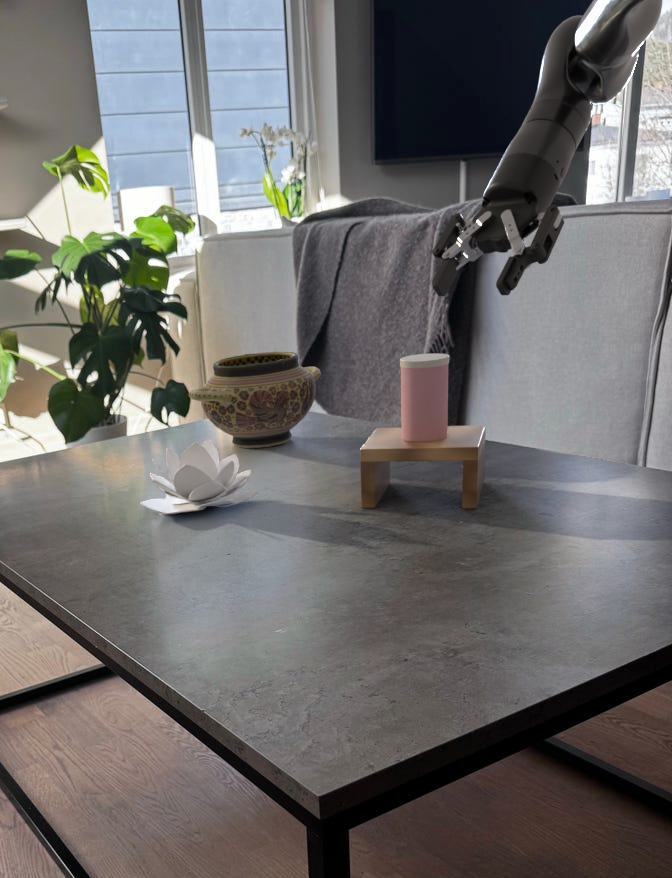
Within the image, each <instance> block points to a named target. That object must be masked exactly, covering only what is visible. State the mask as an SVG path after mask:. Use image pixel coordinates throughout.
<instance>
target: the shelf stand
mask: <svg viewBox="0 0 672 878" xmlns="http://www.w3.org/2000/svg"><path fill="white" fill-rule="evenodd" d="M486 428H487V426H486V424H478V425H477V424H476V425H475V424H474V425H472V424H471V425H448V429H447V437H446V438H443V439H440V440H436V441H428V442H411V441H406V440H403V439H402V430H401V427H400V426H399V427H377V428H375V429H374V431H373V432H372V433H371V435H370V436H369V437H368V439H367V440H366V441H365V443H364V444H363V445H362V446H361V447H360V448H359V461H360V493H361V495H360V499H361V501H360V502H361V503H360V504H361V509H376V508H377V505H378V504H379V502H380V500H381V499H382V497H383V496H384V494H385V492H386V490H387V489H388V487H389V486H390V484H391V462H451V461H453V462H455V461H458V462H460V461H462V495H461V497H462V498H461V499H462V500H461V501H462V503H461V506H462V507H461V508H462V509H465V510H466V509H468V510H469V509H470V510H472V509H478V505H479V502H480V499H481V496H482V495H481V494H482V491H483V487H484V485H485V468H486V467H485V465H486V464H485V462H486V461H485V460H486V433H487V432H486V430H487V429H486Z"/></svg>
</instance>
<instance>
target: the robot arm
mask: <svg viewBox="0 0 672 878" xmlns="http://www.w3.org/2000/svg"><path fill="white" fill-rule="evenodd" d="M662 9H663V0H592V2H591V3H590V5H589V6H588V8H587V9H586V11H585V12H584V14H583V15H573V16H570V17H568V18H566V19H565V20H563V21H562V22H561V23H560V24H559V25H558V26H557V27H556V28H555V29H554V30H553V32H552V33H551V35H550V37H549V39H548V40H547V44H546V46H545V49H544V52H543V56H542V59H541V65H540V70H539V77H538V83H537V89H536V92H535V96H534V99H533V102H532V104H531V106H530V108H529V111H528V112H527V115H525V118H524V120H523V122H522V124H521V126H520V127H519V130H518V131H517V133H516V134H515V136H513V139H512V140H510V143H509V145H508V146H507V148H506V150H505V152H504V154H503V155H502V157H501V159H500V161H499V163H498V165H497V167H496V169H495V171H494V172H493V174H492V176H491V179H490V180H489V182H488V184H487V186H486V188H485V189H484V192H483V195H482V202H481V207H480V209H479V210H478V211H477V212H476V214H474V215H473V217H467V218H466V217H465V218H464V217H463V215H462V214H461V212H457V213H454V215H452V216H451V218H450V220H449V222H448V224H447V225H446V226H445V228H444V230H443V232H442V233H441V235H440V237H439V239H438V241H437V242H436V244H435V246H434V247H433V249H432V251H431V254H432V256H433V258H434V259H435V260H436V262H437V264H438V265H439V267H438V268H437V271H436V273H435V274H434V277H433V278H432V280H431V285H432V288H433V290H434V292H435V294H437V296H438V297H445V296H447V294H448V292H449V290H450V288H451V287H452V285H453V282H454V280H455V279H456V277H457V274H458V273H459V270H460V268H462V267H464V266H465V265H466V264H467V263H469V262H475V261H476V260H478V259H479V258H480V257H481V256H482V255H485V254H487V255H488V254H492V253H496V252H497V253H501V254H502V253H503V254H504V253H505V254H506V253H508V252H509V251H510V250H512V254H513V255H512V256H508V259H507V260H506V262H505V264H504V266H503V268H502V270H501V272H500V274H499V276H498V278H497V280H496V283H495V287H496V289H497V290H498V293H499V294H500V295H501V296H509V295H510V294H511V292H512V291H514V290H515V288H517V287H518V284H519V283H520V280H521V278H522V276H523V275H524V273H525V270H527V269H528V268H530V267H531V266H532V264H536V263H537V264H538V265H543V264H545V263H547V262H548V260H549V258H550V256H551V254H552V252H553V249H554V247H555V245H556V243H557V240H558V238H559V236H560V234H561V231H562V229H563V227H564V224H565V220H564V218H563V215H562V213H561V210H560V209H559V207H558V205H557V204H556V203H555V204H554V203H553V204H552V202H553V200H554V199H555V196H556V195H557V192H558V190H559V189H560V187H561V185H562V183H563V181H564V179H565V177H566V175H567V173H568V171H569V168H570V166H571V163H572V161H573V160H572V159H573V157H574V155H575V153H576V151H577V148H578V147H579V145H580V144H581V141H582V139H583V137H584V135H585V133H586V132H587V130H588V128H589V125H590V123H591V120H592V115H593V108H592V107H593V106H592V104H595V105H598V104H599V105H601V104H606V103H608V102H611V101H612V100H613V99H616V98H617V97H618V96H619V95H620V94H621V92H622V91H623V90H624V89H625V87H626V86H627V84H628V83H629V81H630V79H631V77H632V76H633V73H634V70H635V67H636V64H637V61H638V57H639V51H640V47H641V46H642V45H643V44H644V43H645V42H646V40H647V39H648V38H649V37H650V35H651V34H652V33H653V31H654V29H655V28H656V26H657V24H658V22H659V19H660V16H661V15H662V14H661V13H662ZM591 103H592V104H591ZM535 231H536V232H535ZM534 232H535V234H534V237H533V238H532V241H531V243H530V245H529V246H528V244H527V242H526V238H528V237H529V236H530V235H532V234H533V233H534ZM472 238H473V242H474V243H475V245H476V247H474V248H472V247H471V245H470V241H471V240H472ZM461 251H463V253H462V254H461V255H460V256H458V258H456V256H457V255H458V254H459V253H460V252H461Z"/></svg>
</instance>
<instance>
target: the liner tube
mask: <svg viewBox="0 0 672 878" xmlns="http://www.w3.org/2000/svg"><path fill="white" fill-rule="evenodd" d="M449 364H450V355H449V354H447V353H438V352H437V353H435V352H434V353H418V354H412V355H406V356H403V357H401V358H400V359H399V367H400V398H401V399H400V408H401V409H400V411H401V412H400V415H401V416H400V417H401V418H400V420H401V423H400V424H401V430H402V439H403V440H406V441H411V442H428V441H436V440H440V439H443V438H446V437H447V429H448V426H449V425H448V421H449V418H448V417H449Z"/></svg>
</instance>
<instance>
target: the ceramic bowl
mask: <svg viewBox="0 0 672 878" xmlns="http://www.w3.org/2000/svg"><path fill="white" fill-rule="evenodd" d="M212 369H213V375H212V376H211V377H210V378H209V379H208V380H207V381H206V382H205V384H204V385H203V387H200V388H195V389H192V390H190V391H189V392H188V397H189V398H190V399H191V400H194V401H197V402H201V408H202V410H203V412H204V414H205V416H206V418H207V419H208V420H209V421H210V422H211V423H212V424H213V426H215V427H216V428H217V429H218V430H220V431H221V432H224V433H225V434H227V435H229V436H231V437H232V441H231V443H232V444H233V446H235V447H238V448H241V449H242V448H243V449H258V448H259V449H260V448H261V449H262V448H270V447H274V446H280V445H283V444H286V443H287V442H289V441H290V440H291V439H292V433H291V430H292V429H293V428H295V427H296V426H297V425H298V424H299V423H300V422H301V421H302V420H304V418H305V417H306V415H307V414H308V413H309V412H310V410H311V408H312V406H313V404H314V402H315V398H316V393H317V385H316V382H317V381H318V380H319V378H320V377H321V375H322V372H321V369H320V368H318V367H316V366H305V367H303V366H301V365H300V363H299V354H298V353H297V352H293V351H270V352H268V351H267V352H258V353H257V352H256V353H244V354H242V355H235V356H230V357H225V358H221V359H219V360H217V361H215V362H214V363H213V365H212Z"/></svg>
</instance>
